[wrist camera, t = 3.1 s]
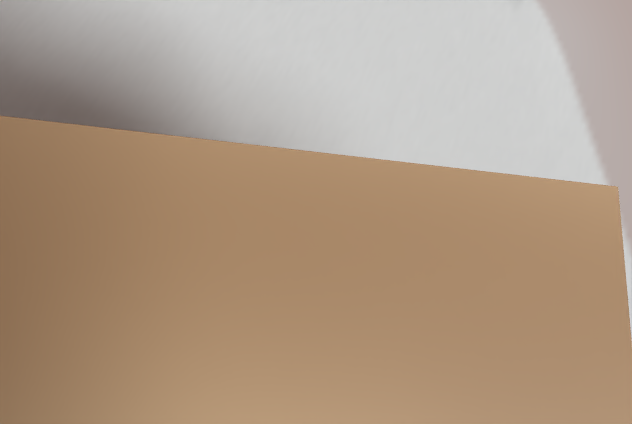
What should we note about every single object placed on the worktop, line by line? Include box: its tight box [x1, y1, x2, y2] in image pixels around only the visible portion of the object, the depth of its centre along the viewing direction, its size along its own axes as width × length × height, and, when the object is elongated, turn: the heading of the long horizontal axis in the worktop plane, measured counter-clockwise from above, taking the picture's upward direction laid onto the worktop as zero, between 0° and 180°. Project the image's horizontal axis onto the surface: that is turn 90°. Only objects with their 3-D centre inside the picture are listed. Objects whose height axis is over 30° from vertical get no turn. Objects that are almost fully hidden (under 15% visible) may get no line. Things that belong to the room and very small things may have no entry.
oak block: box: [0, 116, 632, 424], centre depth 8 cm, size 5×5×11 cm
